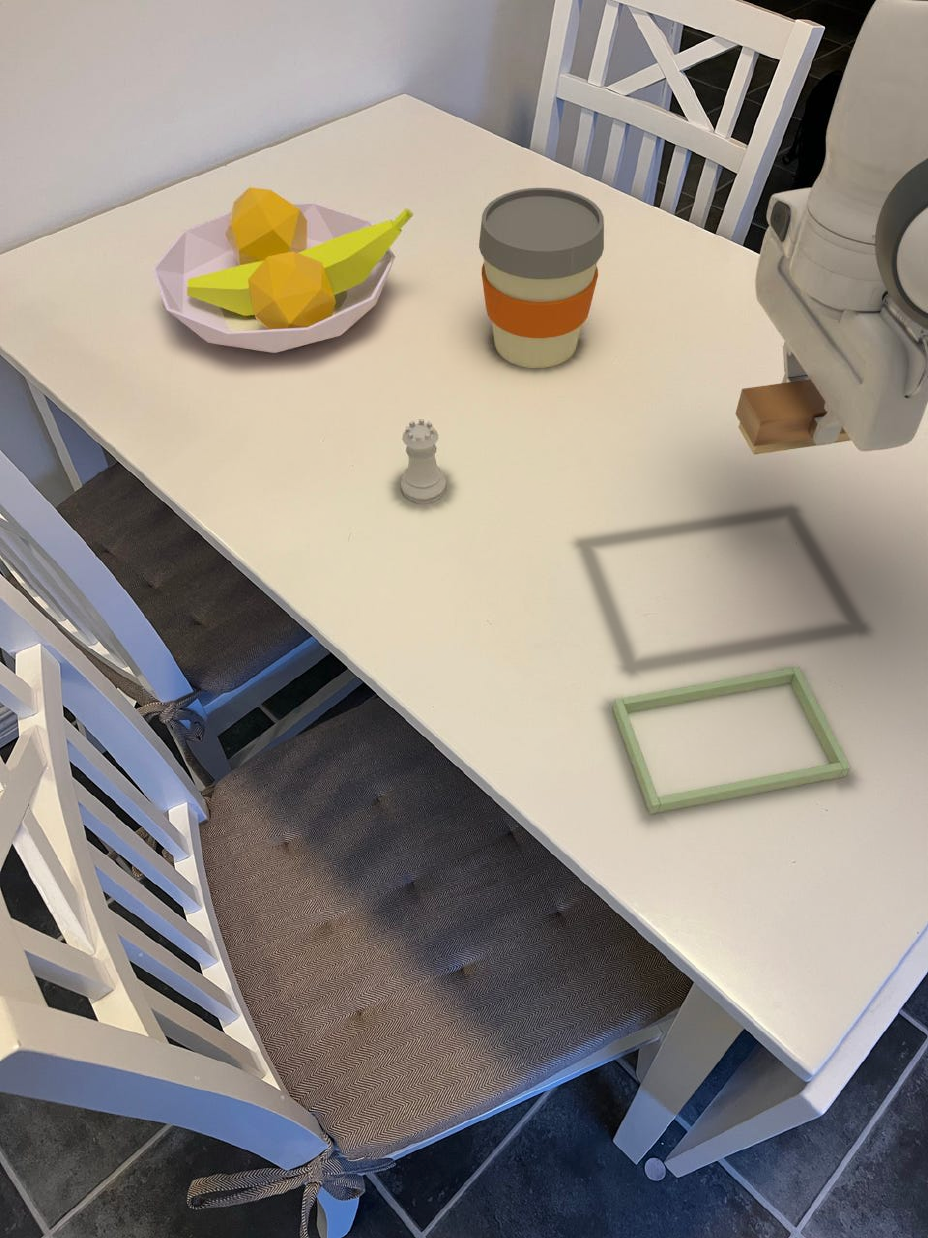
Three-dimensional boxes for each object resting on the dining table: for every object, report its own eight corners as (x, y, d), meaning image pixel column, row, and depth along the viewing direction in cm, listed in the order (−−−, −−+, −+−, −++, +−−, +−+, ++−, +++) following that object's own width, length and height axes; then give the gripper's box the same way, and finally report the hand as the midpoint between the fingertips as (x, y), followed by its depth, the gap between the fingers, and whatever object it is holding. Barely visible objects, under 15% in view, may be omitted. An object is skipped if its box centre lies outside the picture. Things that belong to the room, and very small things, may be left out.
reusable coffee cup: (513, 302, 106) (517, 175, 94) (610, 334, 102) (628, 205, 90) (458, 360, 100) (455, 230, 88) (559, 396, 96) (571, 266, 84)
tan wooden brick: (848, 408, 74) (863, 371, 71) (870, 440, 72) (886, 403, 69) (731, 425, 73) (741, 388, 71) (750, 458, 71) (761, 421, 68)
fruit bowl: (129, 363, 100) (95, 269, 91) (226, 235, 116) (204, 144, 107) (372, 400, 96) (361, 305, 87) (437, 261, 112) (433, 169, 103)
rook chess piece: (452, 481, 88) (450, 416, 82) (439, 513, 86) (436, 449, 79) (409, 473, 89) (403, 408, 83) (394, 504, 86) (388, 440, 80)
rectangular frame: (792, 680, 74) (798, 666, 72) (842, 780, 68) (851, 767, 66) (611, 712, 72) (614, 699, 70) (648, 818, 66) (652, 805, 65)
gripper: (990, 337, 54) (907, 502, 65) (842, 175, 67) (793, 336, 78) (891, 350, 54) (824, 515, 65) (760, 184, 66) (723, 345, 77)
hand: (806, 416), depth 71 cm, fingers closed on tan wooden brick, 4 cm apart
